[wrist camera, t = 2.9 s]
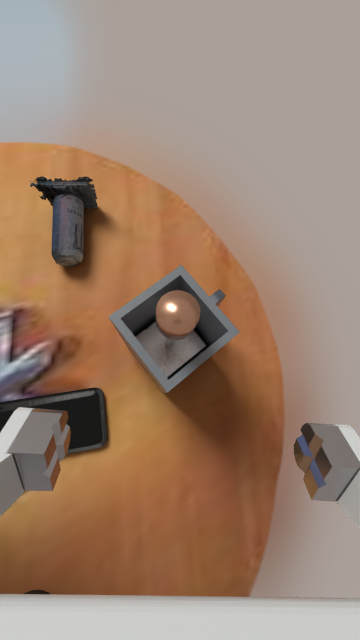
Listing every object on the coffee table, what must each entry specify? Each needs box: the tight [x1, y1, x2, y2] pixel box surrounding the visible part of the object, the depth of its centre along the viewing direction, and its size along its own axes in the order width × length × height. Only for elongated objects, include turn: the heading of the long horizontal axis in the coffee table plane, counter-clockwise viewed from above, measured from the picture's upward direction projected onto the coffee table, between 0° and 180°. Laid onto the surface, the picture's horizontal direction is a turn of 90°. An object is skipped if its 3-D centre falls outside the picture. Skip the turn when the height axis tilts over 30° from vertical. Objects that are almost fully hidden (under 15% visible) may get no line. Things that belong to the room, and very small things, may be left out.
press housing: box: [109, 265, 239, 393], centre depth 34 cm, size 9×12×15 cm
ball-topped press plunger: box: [136, 290, 206, 377], centre depth 29 cm, size 6×6×14 cm
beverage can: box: [30, 177, 97, 267], centre depth 42 cm, size 9×8×12 cm
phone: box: [0, 388, 107, 454], centre depth 37 cm, size 8×1×15 cm
